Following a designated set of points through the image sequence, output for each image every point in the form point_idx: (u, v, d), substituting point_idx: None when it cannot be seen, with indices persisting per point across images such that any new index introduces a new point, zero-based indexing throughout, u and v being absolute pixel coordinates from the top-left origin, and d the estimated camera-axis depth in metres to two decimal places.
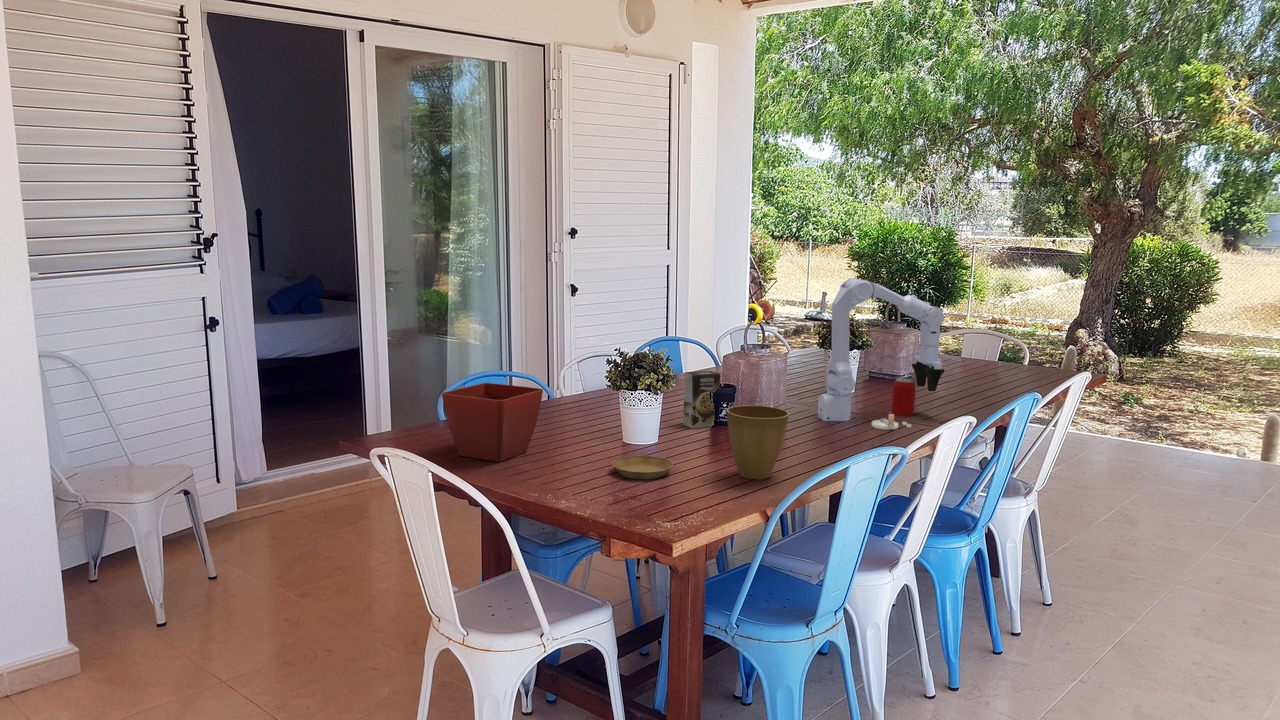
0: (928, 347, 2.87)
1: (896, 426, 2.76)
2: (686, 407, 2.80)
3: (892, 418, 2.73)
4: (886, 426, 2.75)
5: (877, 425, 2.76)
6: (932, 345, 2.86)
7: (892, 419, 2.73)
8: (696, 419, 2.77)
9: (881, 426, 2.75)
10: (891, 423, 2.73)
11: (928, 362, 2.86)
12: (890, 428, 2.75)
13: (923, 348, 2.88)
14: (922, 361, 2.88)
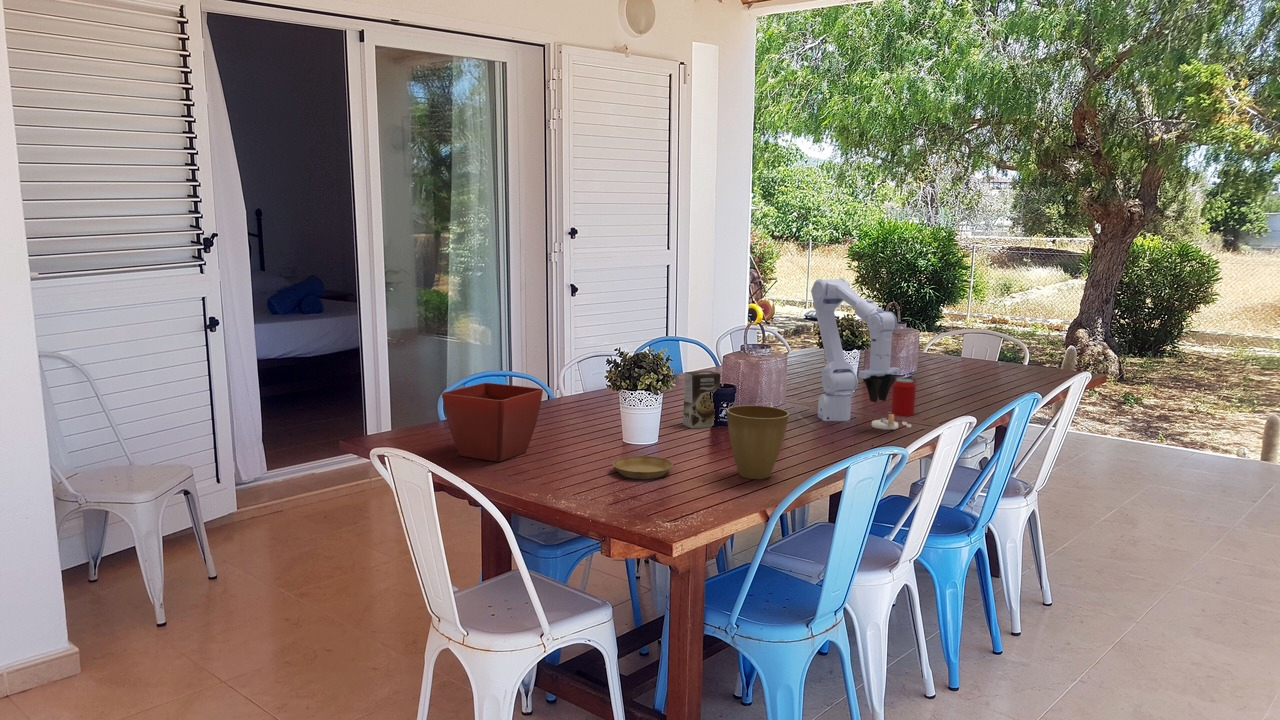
0: (871, 355, 2.69)
1: (896, 426, 2.76)
2: (686, 407, 2.80)
3: (892, 418, 2.73)
4: (886, 426, 2.75)
5: (877, 425, 2.76)
6: (872, 353, 2.69)
7: (892, 419, 2.73)
8: (696, 419, 2.77)
9: (881, 426, 2.75)
10: (891, 423, 2.73)
11: None
12: (890, 428, 2.75)
13: None
14: None
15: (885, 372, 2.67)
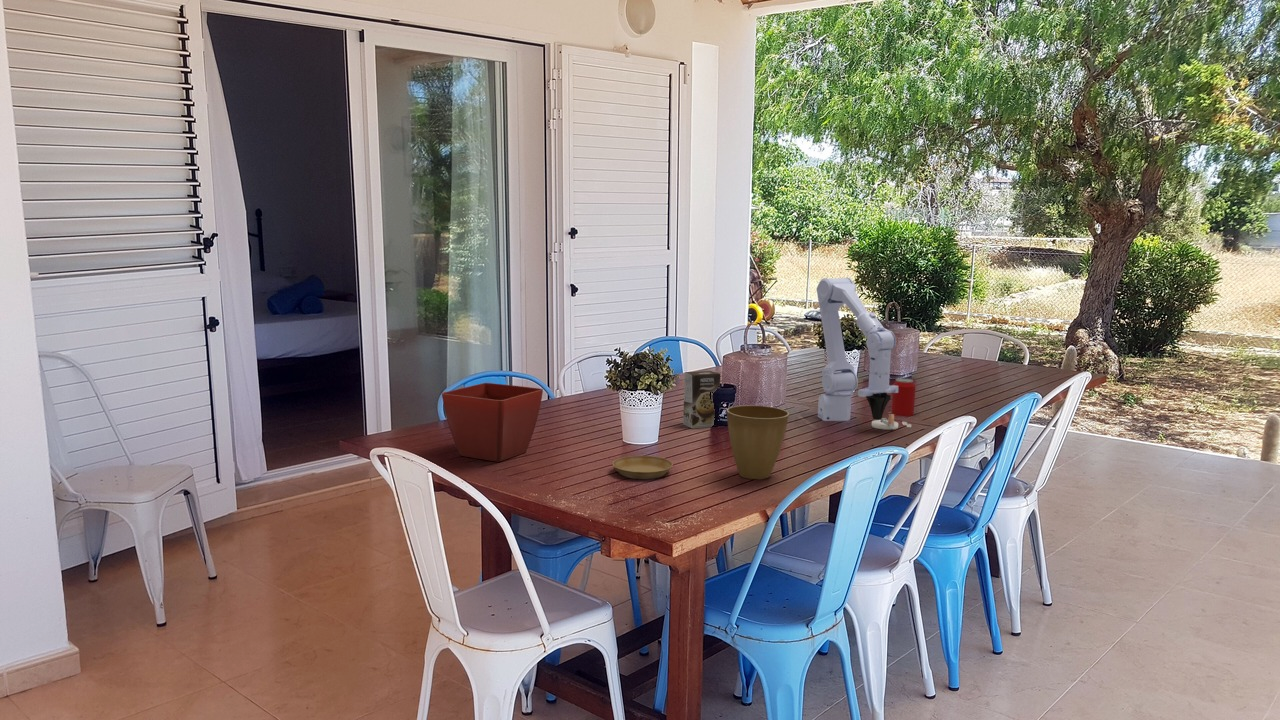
0: (870, 374, 2.70)
1: (896, 426, 2.76)
2: (686, 407, 2.80)
3: (892, 418, 2.73)
4: (886, 426, 2.75)
5: (877, 425, 2.76)
6: (871, 372, 2.70)
7: (892, 419, 2.73)
8: (696, 419, 2.77)
9: (881, 426, 2.75)
10: (891, 423, 2.73)
11: None
12: (890, 428, 2.75)
13: None
14: None
15: (884, 391, 2.68)
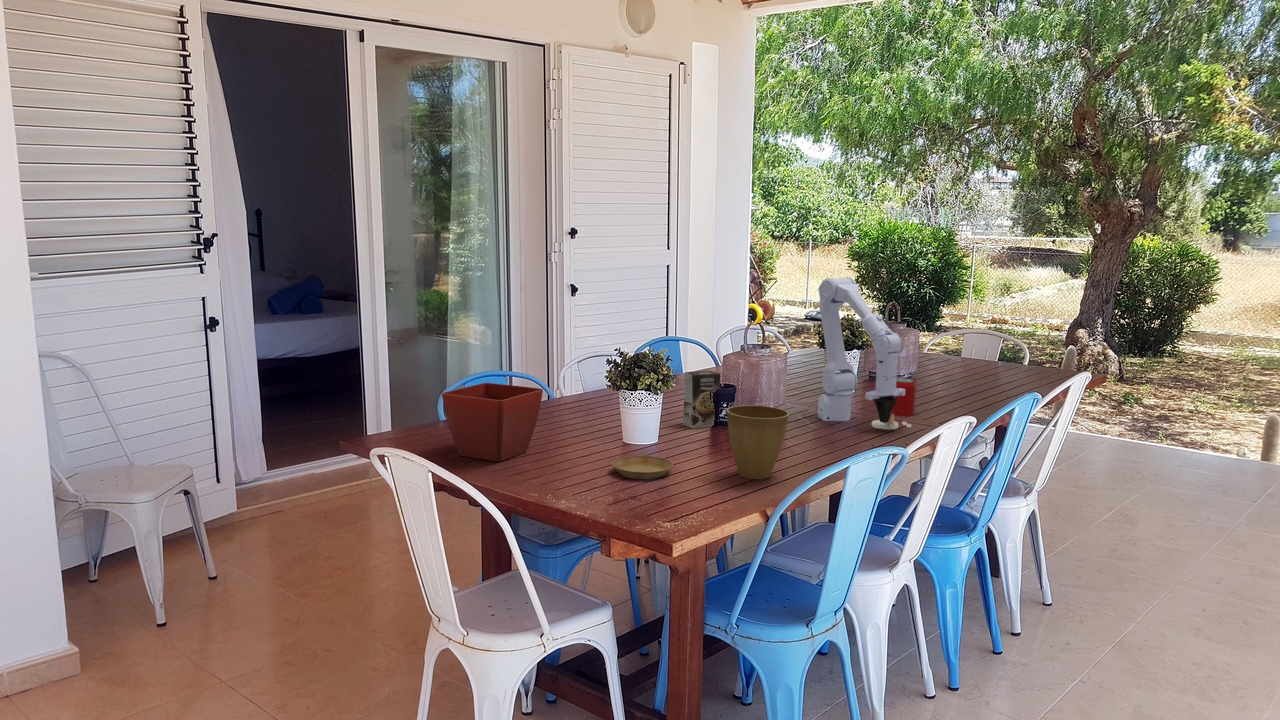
0: (877, 377, 2.71)
1: (896, 426, 2.76)
2: (686, 407, 2.80)
3: (892, 418, 2.73)
4: (886, 426, 2.75)
5: (877, 425, 2.76)
6: (879, 375, 2.70)
7: (892, 419, 2.73)
8: (696, 419, 2.77)
9: (881, 426, 2.75)
10: (891, 423, 2.73)
11: None
12: (890, 428, 2.75)
13: None
14: None
15: (891, 393, 2.69)
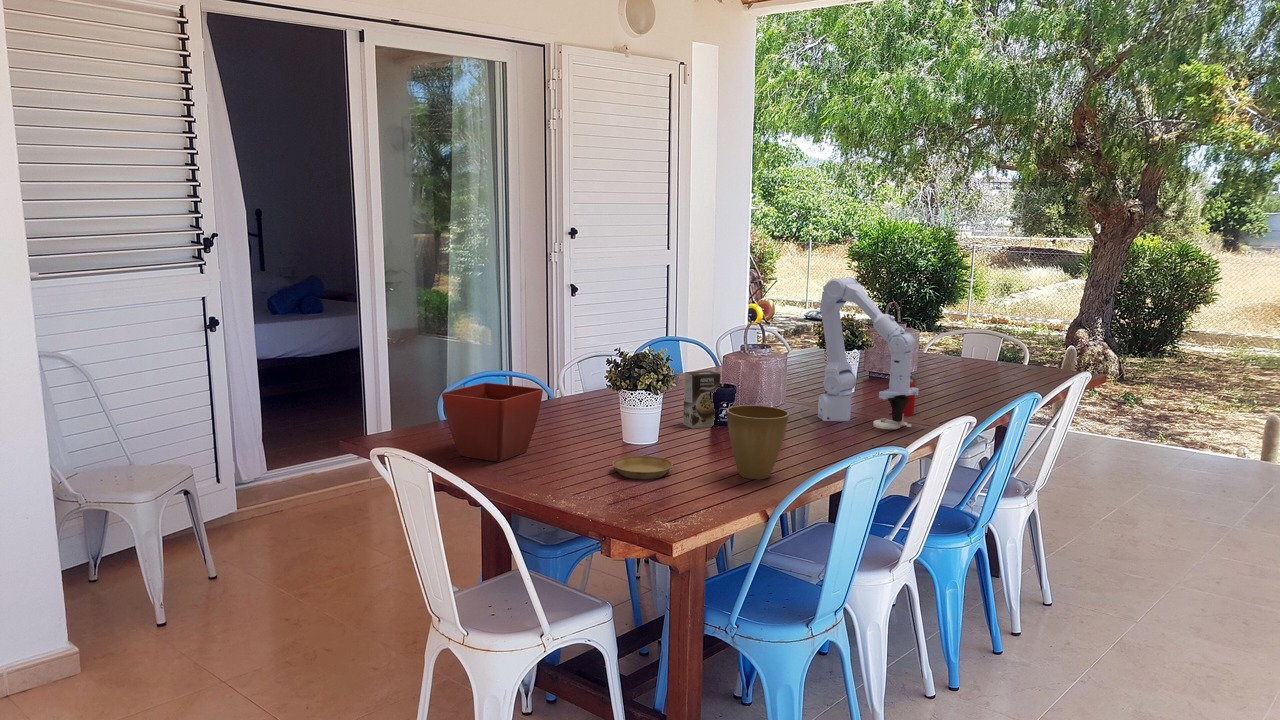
0: (890, 376, 2.73)
1: None
2: (686, 407, 2.80)
3: (903, 417, 2.75)
4: (896, 425, 2.75)
5: (888, 426, 2.75)
6: (894, 375, 2.71)
7: (903, 418, 2.75)
8: (696, 419, 2.77)
9: (892, 426, 2.75)
10: (902, 422, 2.75)
11: None
12: (898, 427, 2.76)
13: None
14: None
15: (905, 393, 2.71)
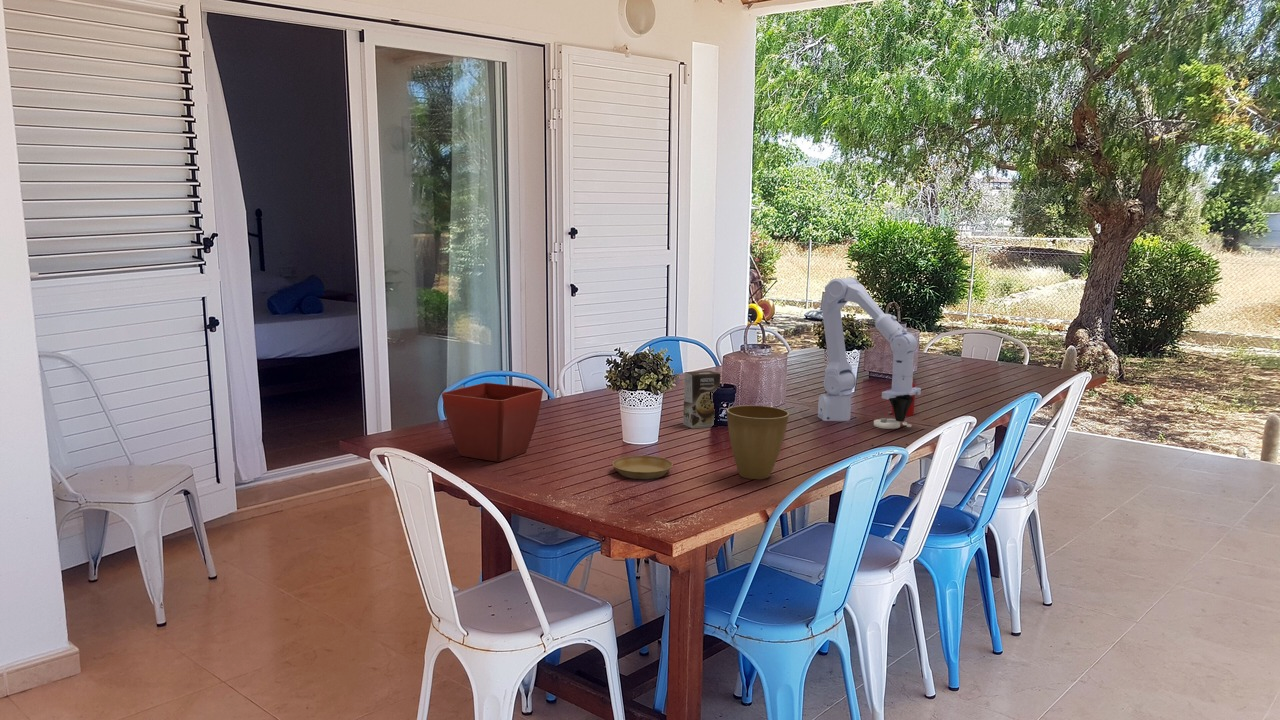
0: (893, 376, 2.73)
1: None
2: (686, 407, 2.80)
3: None
4: None
5: (897, 425, 2.76)
6: (897, 375, 2.71)
7: None
8: (696, 419, 2.77)
9: (899, 425, 2.77)
10: None
11: None
12: None
13: None
14: None
15: (907, 393, 2.70)
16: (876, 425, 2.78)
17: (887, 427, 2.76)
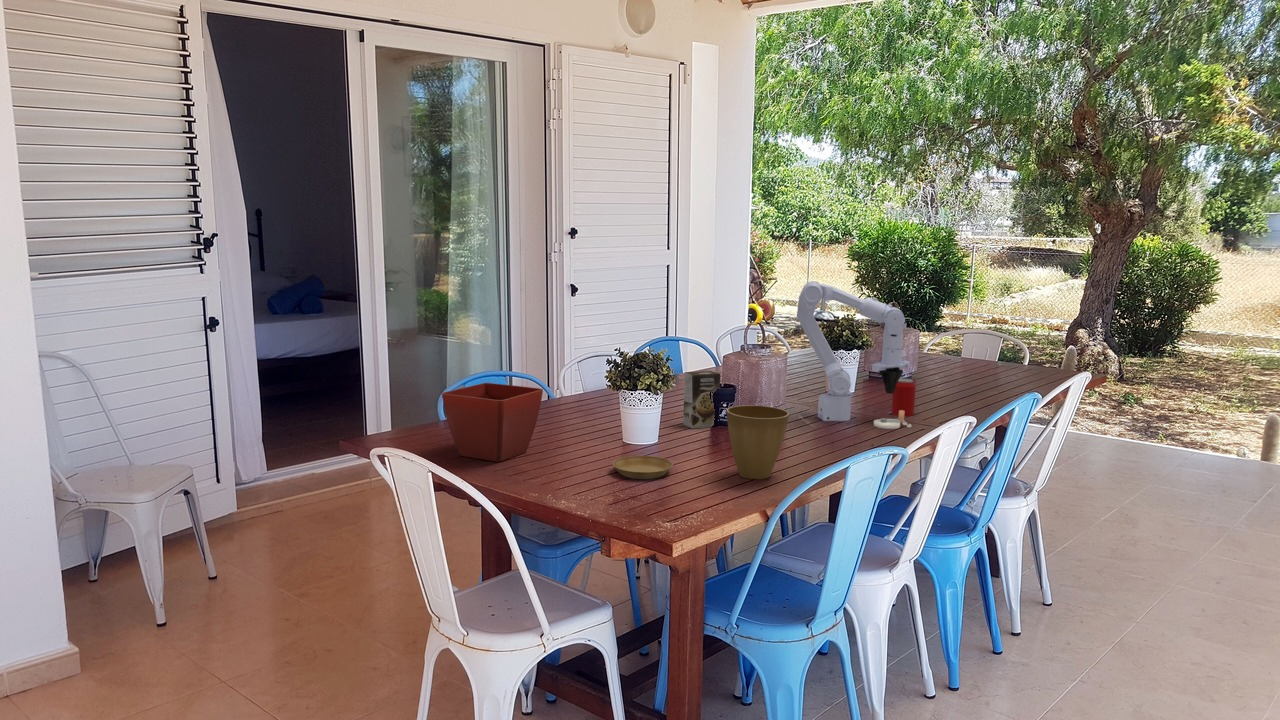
0: (883, 349, 2.82)
1: None
2: (686, 407, 2.80)
3: None
4: None
5: (897, 425, 2.76)
6: (892, 348, 2.80)
7: None
8: (696, 419, 2.77)
9: (899, 425, 2.77)
10: (903, 419, 2.79)
11: None
12: None
13: (882, 350, 2.84)
14: None
15: (897, 365, 2.80)
16: (876, 425, 2.78)
17: (887, 427, 2.76)
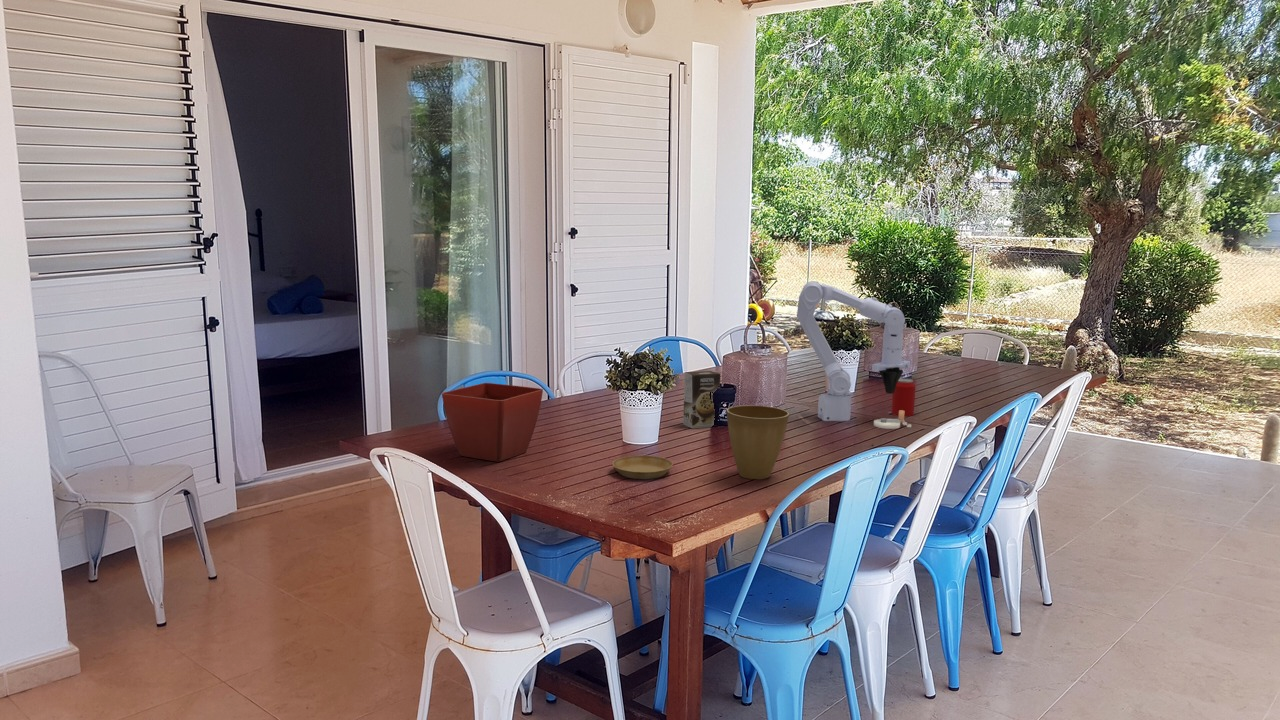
0: (883, 349, 2.82)
1: None
2: (686, 407, 2.80)
3: None
4: None
5: (897, 425, 2.76)
6: (892, 348, 2.80)
7: None
8: (696, 419, 2.77)
9: (899, 425, 2.77)
10: (903, 419, 2.79)
11: None
12: None
13: (882, 350, 2.84)
14: None
15: (897, 365, 2.80)
16: (876, 425, 2.78)
17: (887, 427, 2.76)
